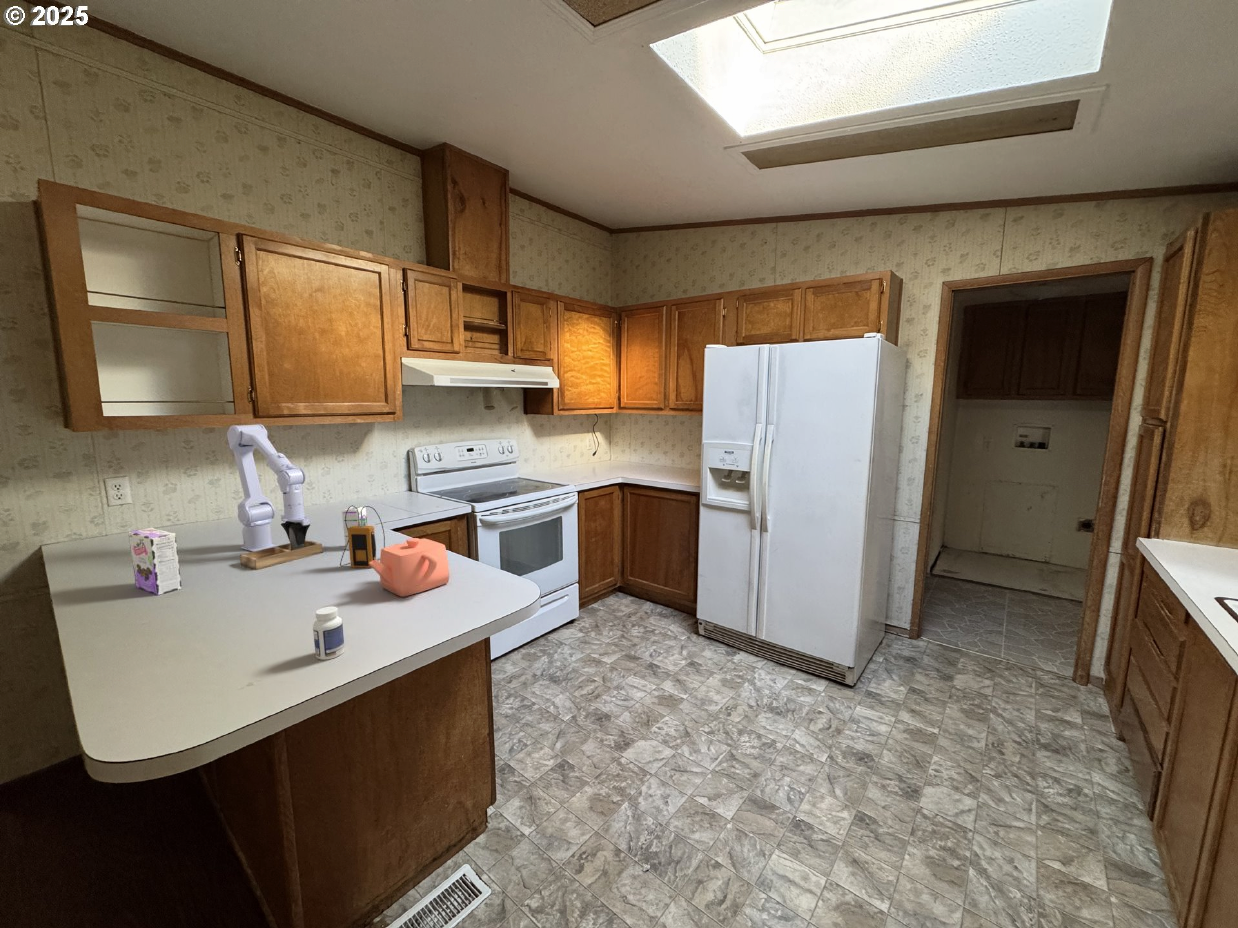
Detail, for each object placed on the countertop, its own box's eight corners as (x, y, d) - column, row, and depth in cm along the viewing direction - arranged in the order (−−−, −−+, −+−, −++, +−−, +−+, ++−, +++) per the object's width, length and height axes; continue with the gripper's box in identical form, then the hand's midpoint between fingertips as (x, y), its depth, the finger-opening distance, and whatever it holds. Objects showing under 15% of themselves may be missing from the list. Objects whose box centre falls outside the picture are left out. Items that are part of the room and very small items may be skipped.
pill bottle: (349, 647, 111) (346, 604, 110) (336, 660, 106) (333, 615, 105) (324, 648, 111) (320, 605, 110) (310, 660, 106) (306, 615, 105)
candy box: (134, 587, 147) (126, 531, 145) (160, 580, 153) (153, 526, 150) (157, 595, 141) (149, 537, 139) (183, 588, 146) (176, 532, 144)
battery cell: (288, 550, 176) (286, 525, 175) (300, 547, 179) (298, 522, 178) (294, 552, 174) (292, 527, 173) (307, 549, 177) (304, 524, 176)
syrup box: (361, 549, 182) (358, 509, 180) (344, 549, 182) (341, 509, 180) (369, 545, 187) (366, 506, 185) (353, 545, 187) (350, 506, 185)
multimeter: (399, 558, 171) (395, 499, 169) (383, 568, 162) (378, 506, 159) (357, 557, 173) (353, 499, 170) (339, 567, 163) (333, 505, 160)
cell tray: (240, 564, 167) (239, 554, 166) (306, 548, 184) (305, 539, 184) (256, 569, 161) (255, 560, 161) (322, 552, 179) (321, 543, 178)
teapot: (419, 571, 160) (417, 527, 158) (461, 587, 146) (458, 540, 144) (353, 590, 144) (350, 542, 142) (392, 610, 130) (389, 557, 129)
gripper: (270, 504, 175) (273, 542, 177) (292, 508, 167) (296, 549, 169) (292, 500, 181) (295, 537, 183) (314, 504, 173) (317, 543, 175)
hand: (297, 543), depth 176 cm, fingers closed on battery cell, 4 cm apart
